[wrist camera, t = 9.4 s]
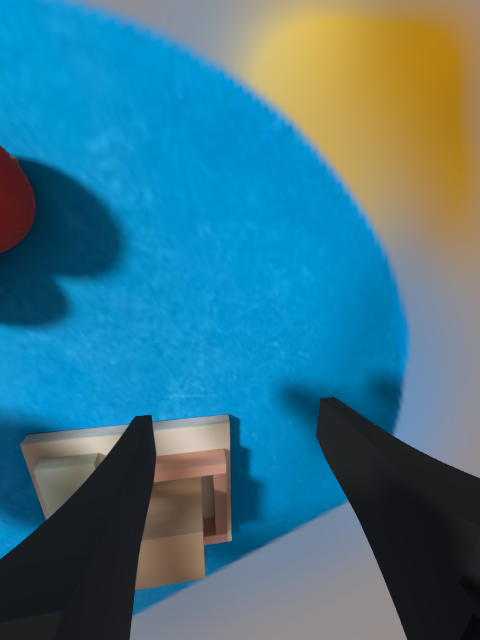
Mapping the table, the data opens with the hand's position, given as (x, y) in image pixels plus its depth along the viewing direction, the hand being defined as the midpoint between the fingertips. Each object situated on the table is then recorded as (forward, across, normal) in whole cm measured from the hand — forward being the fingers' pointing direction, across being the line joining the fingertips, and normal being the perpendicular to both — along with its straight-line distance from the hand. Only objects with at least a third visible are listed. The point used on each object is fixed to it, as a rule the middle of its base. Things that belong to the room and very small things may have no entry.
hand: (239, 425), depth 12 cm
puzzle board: (+9, +7, +14) cm, 18 cm away
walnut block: (+8, +4, +14) cm, 17 cm away
